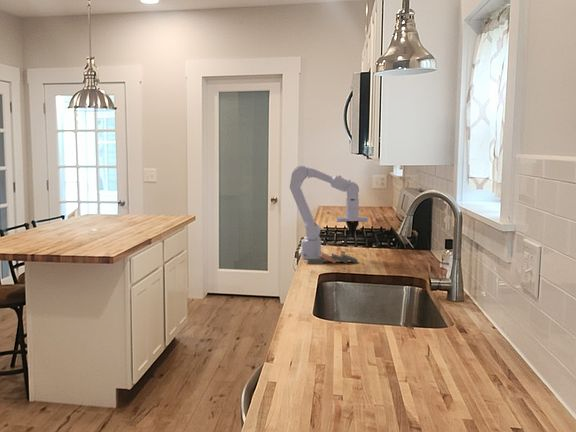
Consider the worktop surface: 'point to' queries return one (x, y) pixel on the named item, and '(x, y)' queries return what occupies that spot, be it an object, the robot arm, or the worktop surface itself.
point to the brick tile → (327, 257)
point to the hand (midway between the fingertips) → (352, 237)
